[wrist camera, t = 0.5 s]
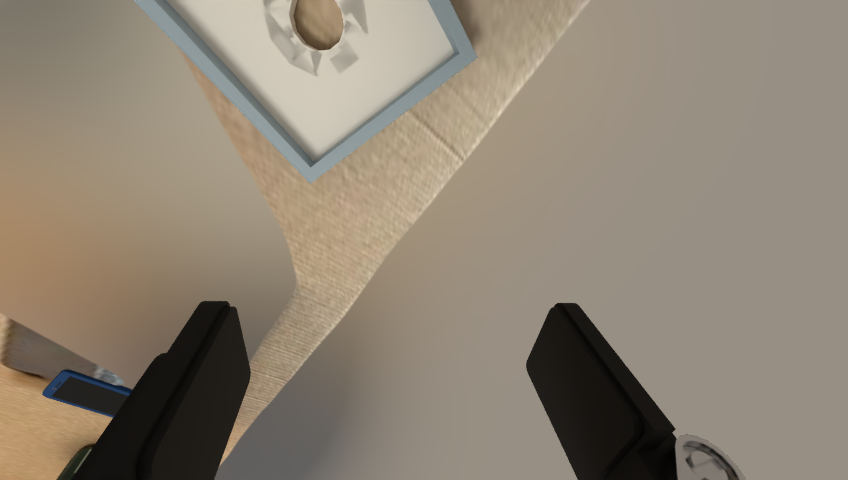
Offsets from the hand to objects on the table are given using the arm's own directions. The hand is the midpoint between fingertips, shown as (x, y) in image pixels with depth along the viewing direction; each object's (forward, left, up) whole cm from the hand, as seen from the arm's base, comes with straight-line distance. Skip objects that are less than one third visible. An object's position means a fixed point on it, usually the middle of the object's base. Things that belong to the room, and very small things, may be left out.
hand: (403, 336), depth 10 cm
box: (-1, -10, -29) cm, 31 cm away
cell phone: (+60, +8, -30) cm, 67 cm away
